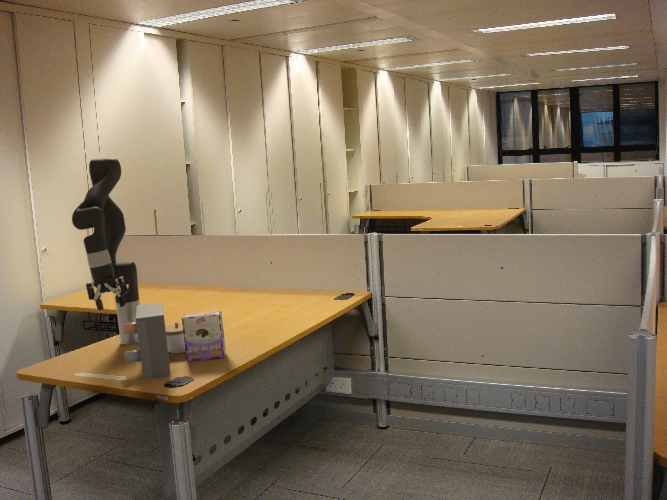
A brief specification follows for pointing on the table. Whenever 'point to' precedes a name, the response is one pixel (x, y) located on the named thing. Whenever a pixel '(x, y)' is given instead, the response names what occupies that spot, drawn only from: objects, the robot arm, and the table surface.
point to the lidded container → (175, 338)
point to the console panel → (152, 340)
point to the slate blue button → (132, 356)
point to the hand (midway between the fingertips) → (112, 308)
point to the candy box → (204, 336)
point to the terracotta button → (130, 328)
